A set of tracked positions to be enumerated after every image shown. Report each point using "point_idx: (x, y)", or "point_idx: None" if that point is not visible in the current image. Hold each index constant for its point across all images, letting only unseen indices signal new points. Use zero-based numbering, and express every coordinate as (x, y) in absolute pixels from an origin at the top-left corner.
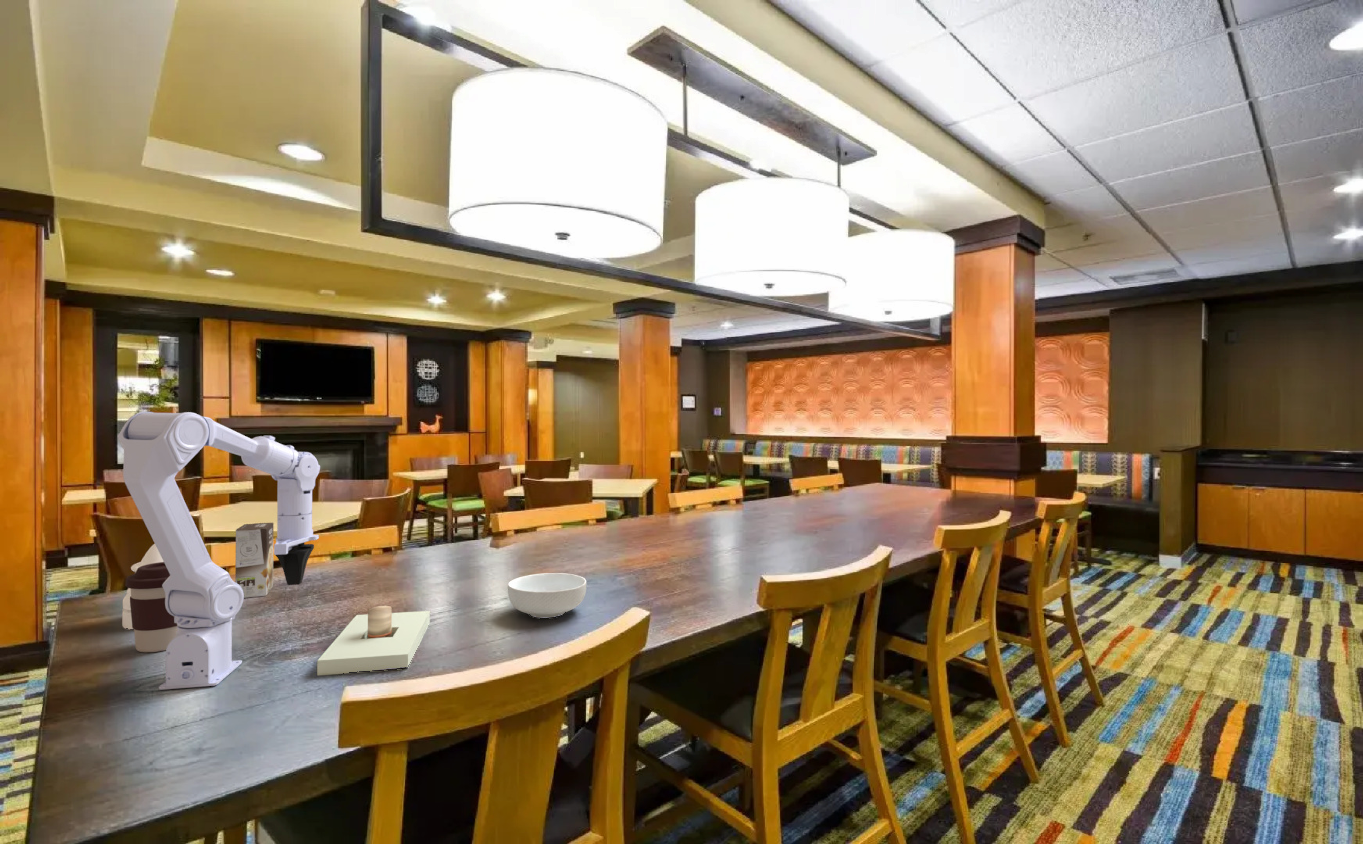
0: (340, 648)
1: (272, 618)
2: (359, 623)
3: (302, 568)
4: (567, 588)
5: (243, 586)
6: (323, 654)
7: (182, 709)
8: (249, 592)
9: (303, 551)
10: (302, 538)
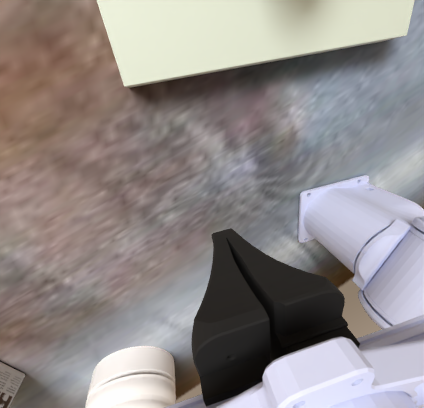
0: (359, 10)
1: (105, 274)
2: (194, 41)
3: (249, 252)
4: None
5: (4, 393)
6: (380, 37)
7: (412, 169)
8: (4, 376)
9: (339, 292)
10: (414, 386)
